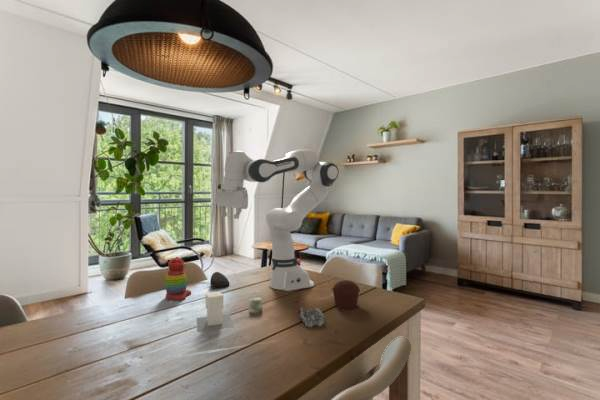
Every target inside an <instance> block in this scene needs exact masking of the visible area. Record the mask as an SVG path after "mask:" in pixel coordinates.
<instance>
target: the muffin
mask: <svg viewBox="0 0 600 400" xmlns="http://www.w3.org/2000/svg"><path fill="white" fill-rule="evenodd" d="M331 291H332V292H333V293H332V294H333V297H334V304H335V307H337V308H338V307H339V308H338V309H343V310H352V309H355V307H356V308H357V304H358V301H359V299H358V297H359V294H360V291H361V289H360V287H359V286H358V284H356V283H355V282H353V281H352V280H346V279H344V280H340V281H337V282H336V283H335V284H334V286H333V287H332V289H331Z"/></svg>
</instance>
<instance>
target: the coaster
mask: <svg viewBox="0 0 600 400" xmlns="http://www.w3.org/2000/svg"><path fill="white" fill-rule="evenodd" d="M232 320H233V319H232V317H231V314H230V313H228V314H227V313H225V314H222V324H218V325H211V326H208V324H207V316H203V317H196V330H197V333H198V332H206V331H212V330H213V331H214V330H218V329H226V328H234V324H233V321H232Z"/></svg>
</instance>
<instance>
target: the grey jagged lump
mask: <svg viewBox="0 0 600 400" xmlns="http://www.w3.org/2000/svg"><path fill="white" fill-rule="evenodd" d="M299 309H300V314H299V317H300V319H301V320H302V322H303V323H304V326H305V327H309V328H312V327H314V326H318V327H321V326H323V325H324V323H325V322H324V321H325V319H324V317H325V315H324V314H323V312H322V311H321V309H320V307H319V308H308V310H306V308H304V307H302V306H300V307H299Z"/></svg>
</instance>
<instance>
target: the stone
mask: <svg viewBox="0 0 600 400" xmlns="http://www.w3.org/2000/svg"><path fill="white" fill-rule="evenodd" d="M224 286H226V287H228V286H230V281H229V279H228V278H227V277H226V275H224V274H223V273H221V272H218V271H215V272H213V273H212V274H211V276H210V287H211V288H213V287H215V288H220V287H224Z"/></svg>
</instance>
